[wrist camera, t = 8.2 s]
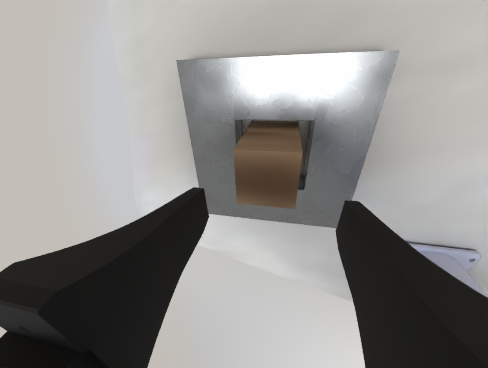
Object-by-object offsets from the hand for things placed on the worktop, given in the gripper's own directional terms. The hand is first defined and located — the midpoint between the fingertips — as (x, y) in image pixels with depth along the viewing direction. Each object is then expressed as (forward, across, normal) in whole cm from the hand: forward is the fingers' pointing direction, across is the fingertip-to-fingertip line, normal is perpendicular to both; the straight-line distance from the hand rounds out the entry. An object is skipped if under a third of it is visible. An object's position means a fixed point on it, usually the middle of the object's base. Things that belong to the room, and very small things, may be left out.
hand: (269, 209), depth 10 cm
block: (+9, 0, 0) cm, 9 cm away
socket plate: (+9, 0, 0) cm, 9 cm away
